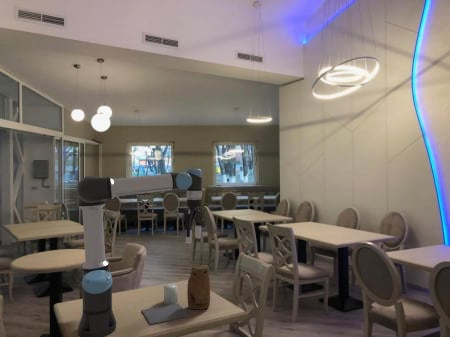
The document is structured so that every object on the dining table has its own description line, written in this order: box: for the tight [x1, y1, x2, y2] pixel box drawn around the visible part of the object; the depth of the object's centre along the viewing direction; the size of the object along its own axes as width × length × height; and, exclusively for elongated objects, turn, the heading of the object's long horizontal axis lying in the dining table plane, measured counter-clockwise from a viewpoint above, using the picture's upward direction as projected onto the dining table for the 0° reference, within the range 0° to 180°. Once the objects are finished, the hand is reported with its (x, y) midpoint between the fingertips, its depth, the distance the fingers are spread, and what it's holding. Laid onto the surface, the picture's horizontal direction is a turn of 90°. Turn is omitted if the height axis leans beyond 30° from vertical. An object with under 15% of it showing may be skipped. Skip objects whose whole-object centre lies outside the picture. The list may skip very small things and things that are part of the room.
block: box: [186, 264, 211, 310], centre depth 166 cm, size 11×8×20 cm
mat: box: [141, 302, 190, 326], centre depth 158 cm, size 18×16×1 cm
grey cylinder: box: [163, 283, 179, 305], centre depth 173 cm, size 7×7×8 cm
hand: (193, 240), depth 172 cm, fingers open, 13 cm apart
